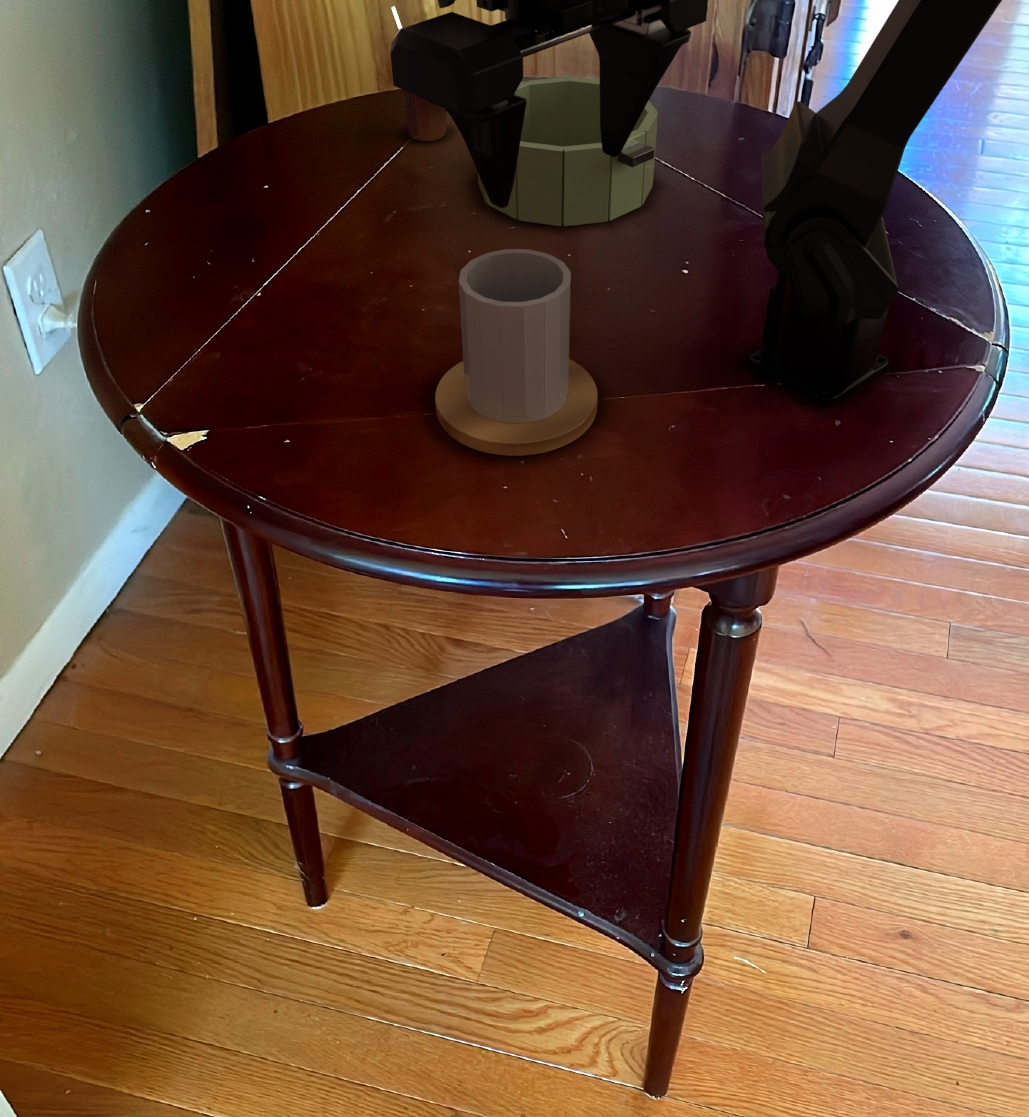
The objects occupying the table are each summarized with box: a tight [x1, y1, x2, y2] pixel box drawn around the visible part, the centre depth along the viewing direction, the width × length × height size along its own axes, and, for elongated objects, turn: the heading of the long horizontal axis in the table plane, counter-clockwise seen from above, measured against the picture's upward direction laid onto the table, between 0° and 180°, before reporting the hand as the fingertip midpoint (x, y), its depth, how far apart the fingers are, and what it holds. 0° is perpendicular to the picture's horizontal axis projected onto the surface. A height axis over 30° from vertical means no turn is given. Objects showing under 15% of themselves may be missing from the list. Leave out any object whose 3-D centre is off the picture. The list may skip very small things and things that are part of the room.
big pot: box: [477, 76, 659, 227], centre depth 89 cm, size 17×14×6 cm
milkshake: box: [390, 5, 448, 142], centre depth 96 cm, size 4×5×10 cm
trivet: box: [434, 358, 599, 457], centre depth 69 cm, size 10×10×1 cm
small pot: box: [458, 248, 572, 423], centre depth 66 cm, size 6×6×8 cm
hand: (556, 179), depth 66 cm, fingers open, 9 cm apart
